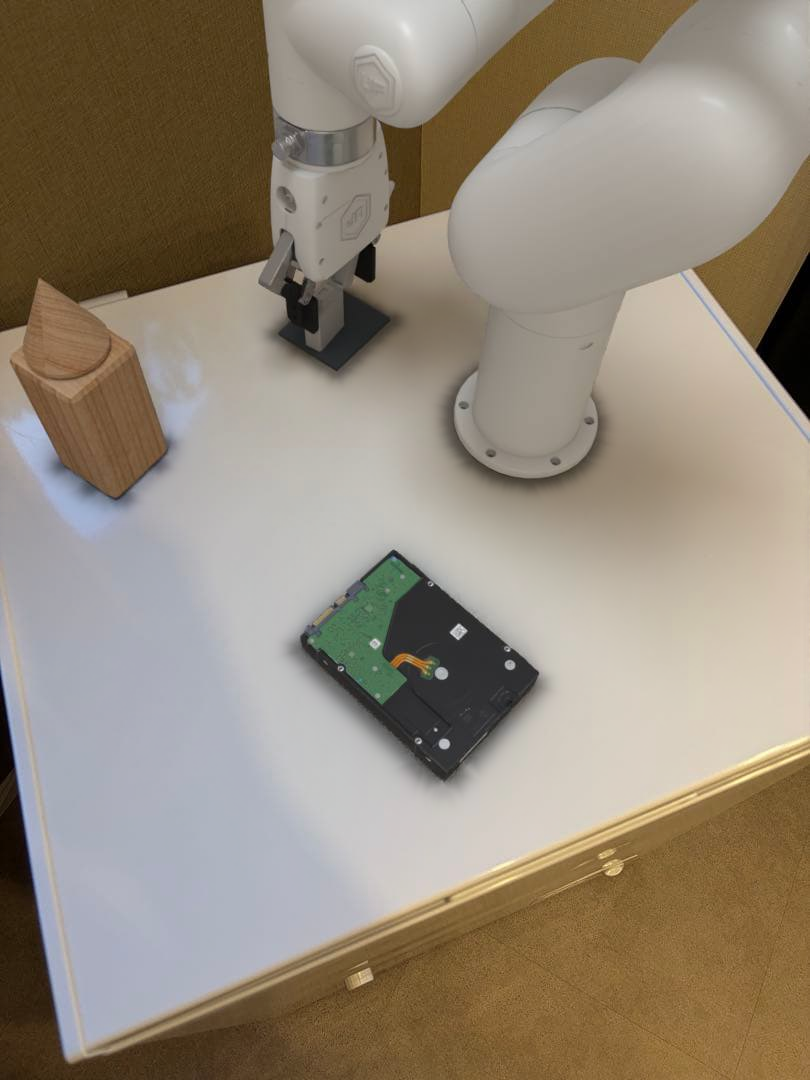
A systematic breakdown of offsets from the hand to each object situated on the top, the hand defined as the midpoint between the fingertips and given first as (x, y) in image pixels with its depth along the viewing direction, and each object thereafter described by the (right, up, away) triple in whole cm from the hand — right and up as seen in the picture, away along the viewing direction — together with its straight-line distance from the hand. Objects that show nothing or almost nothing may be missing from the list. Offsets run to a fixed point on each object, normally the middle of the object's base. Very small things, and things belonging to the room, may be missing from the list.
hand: (332, 298), depth 80 cm
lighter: (0, -2, +3) cm, 3 cm away
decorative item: (-18, -15, -5) cm, 24 cm away
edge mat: (0, -2, +3) cm, 4 cm away
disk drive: (+7, -31, -13) cm, 35 cm away
